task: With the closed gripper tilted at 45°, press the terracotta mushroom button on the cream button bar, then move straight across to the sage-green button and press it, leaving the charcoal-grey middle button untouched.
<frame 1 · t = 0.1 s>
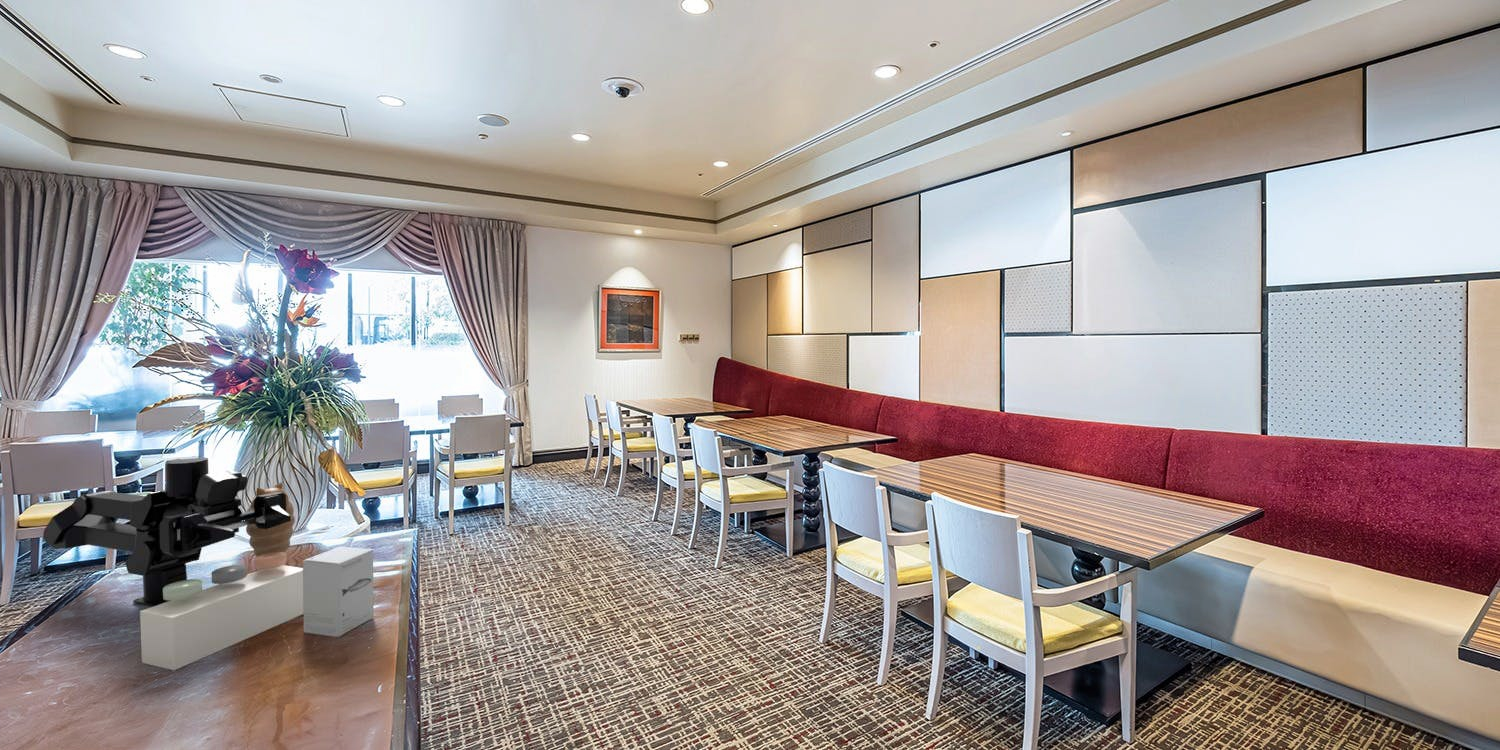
hand: (262, 525, 103), 17 cm above the table, tool horizontal, fingers open, 9 cm apart
grey button: (229, 574, 98), point 10 cm above the table, slide at 0.0 cm
terracotta button: (270, 560, 105), point 10 cm above the table, slide at 0.0 cm
cat ice cream: (272, 569, 127), on the table
supplement box: (340, 626, 102), on the table
sage button: (182, 589, 92), point 10 cm above the table, slide at 0.0 cm
button bar: (232, 635, 98), on the table
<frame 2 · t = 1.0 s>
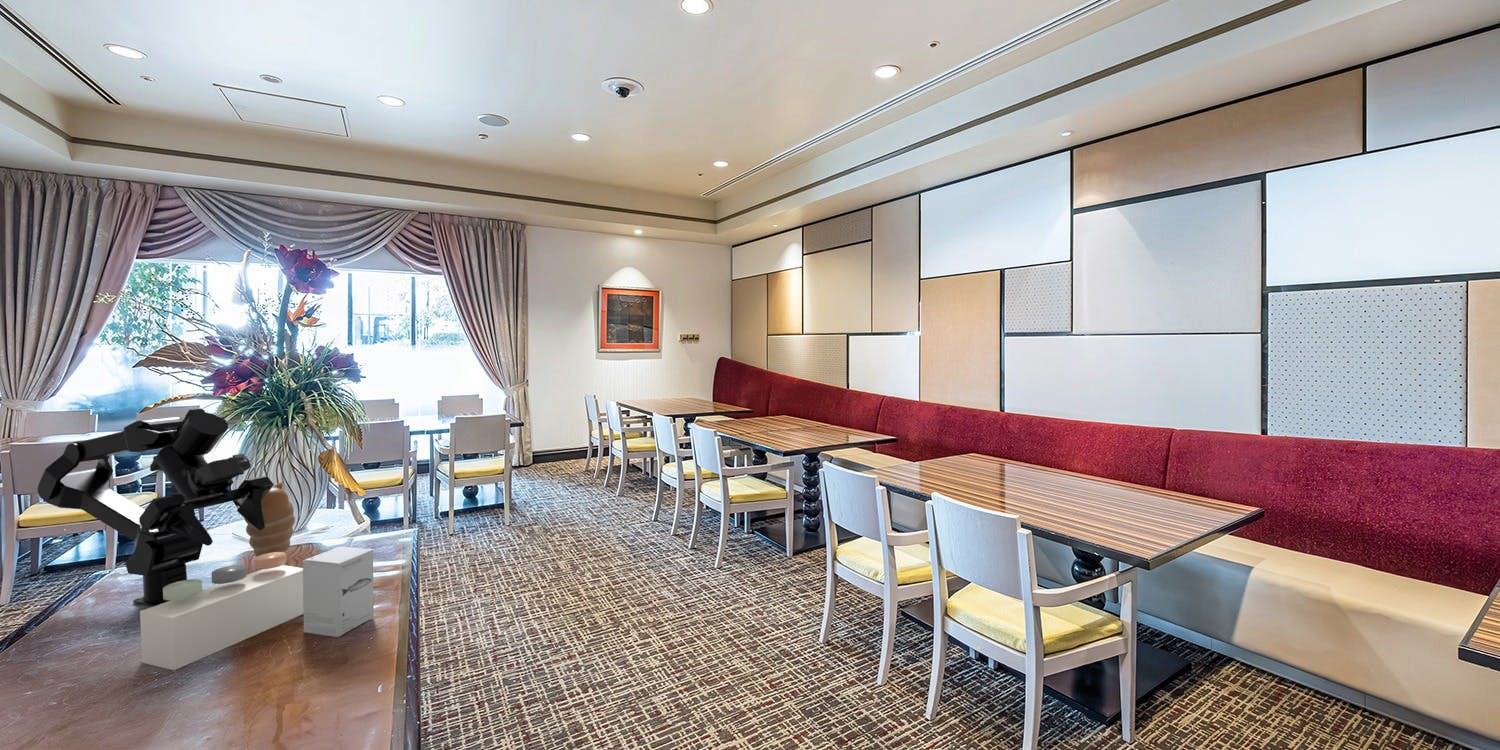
hand: (237, 535, 106), 14 cm above the table, tool tilted 45°, fingers open, 8 cm apart
nothing on the table moved.
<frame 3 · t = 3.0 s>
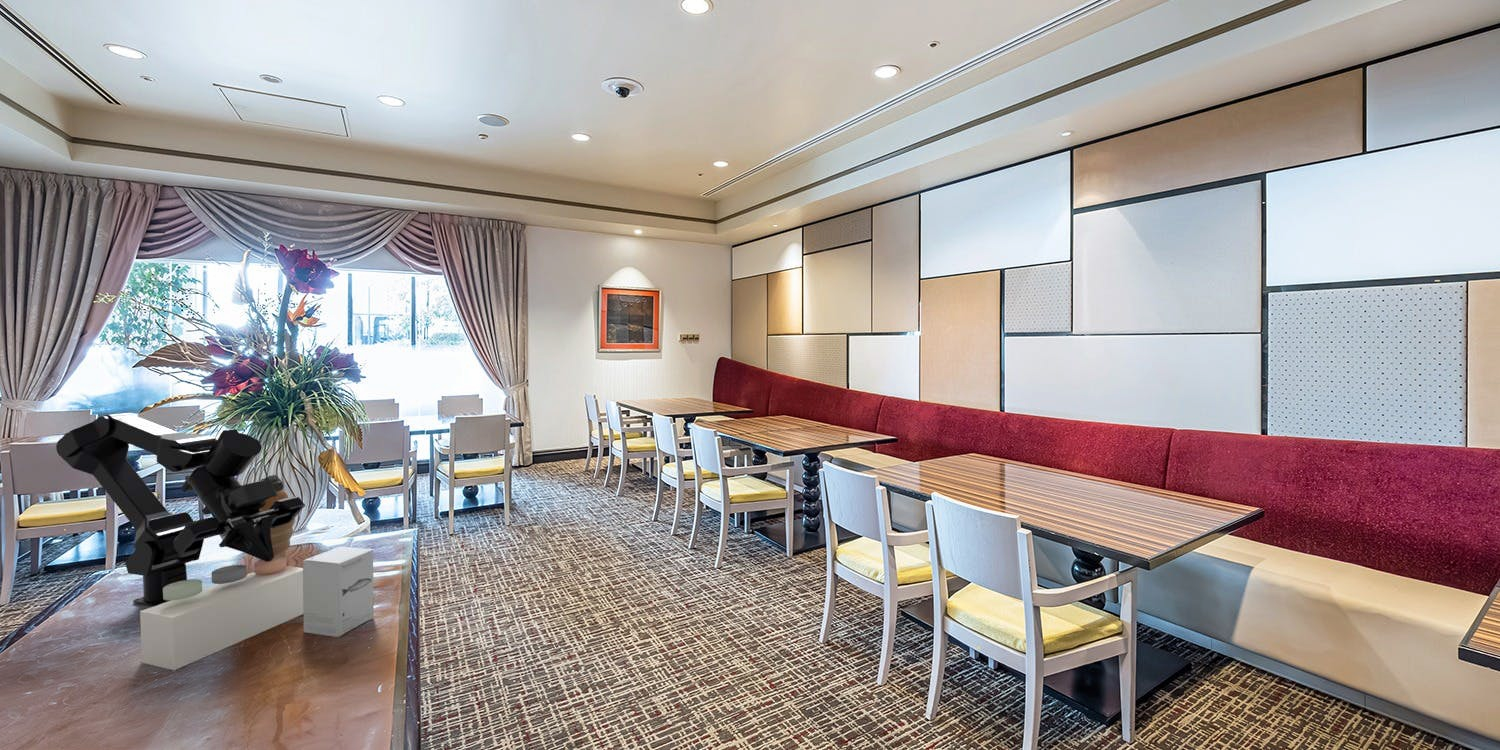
hand: (270, 559, 105), 10 cm above the table, tool tilted 45°, fingers closed, pressing on terracotta button
terracotta button: (270, 565, 105), point 9 cm above the table, slide at 0.9 cm, touching gripper
everything else where it was.
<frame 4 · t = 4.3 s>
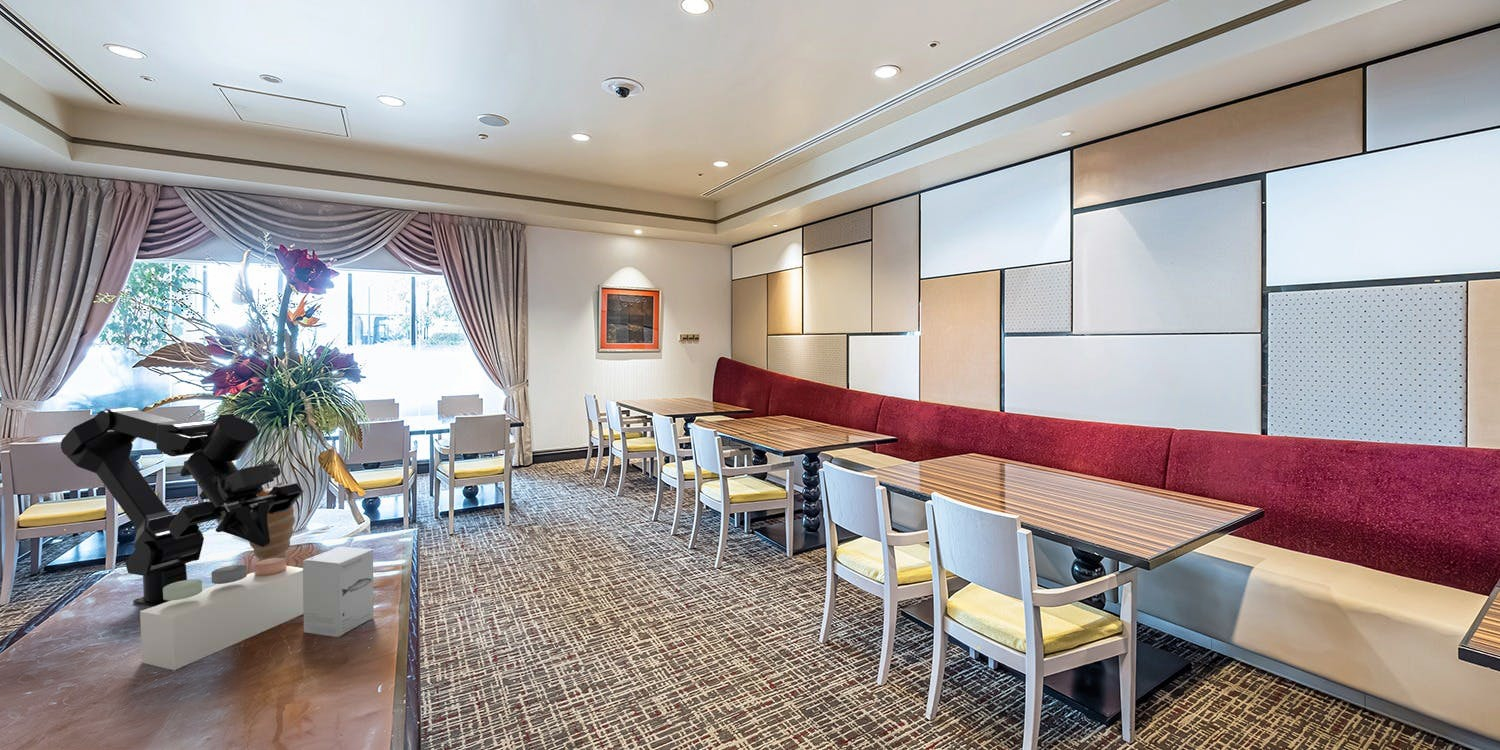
hand: (266, 544, 104), 13 cm above the table, tool tilted 45°, fingers closed
terracotta button: (270, 566, 105), point 9 cm above the table, slide at 1.1 cm
everything else where it was.
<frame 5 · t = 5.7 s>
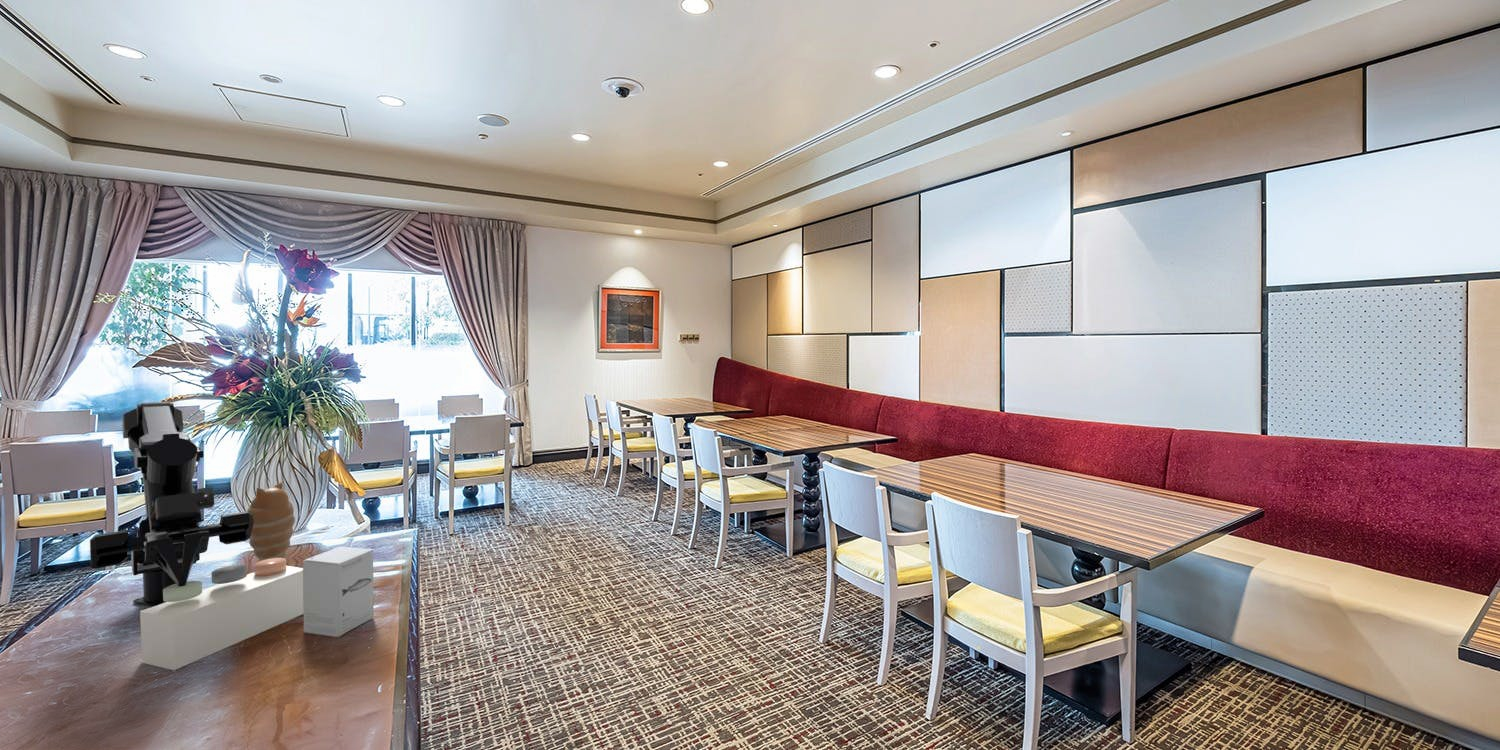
hand: (182, 584, 92), 11 cm above the table, tool tilted 45°, fingers closed, pressing on sage button
sage button: (182, 591, 92), point 10 cm above the table, slide at 0.3 cm, touching gripper
everything else where it was.
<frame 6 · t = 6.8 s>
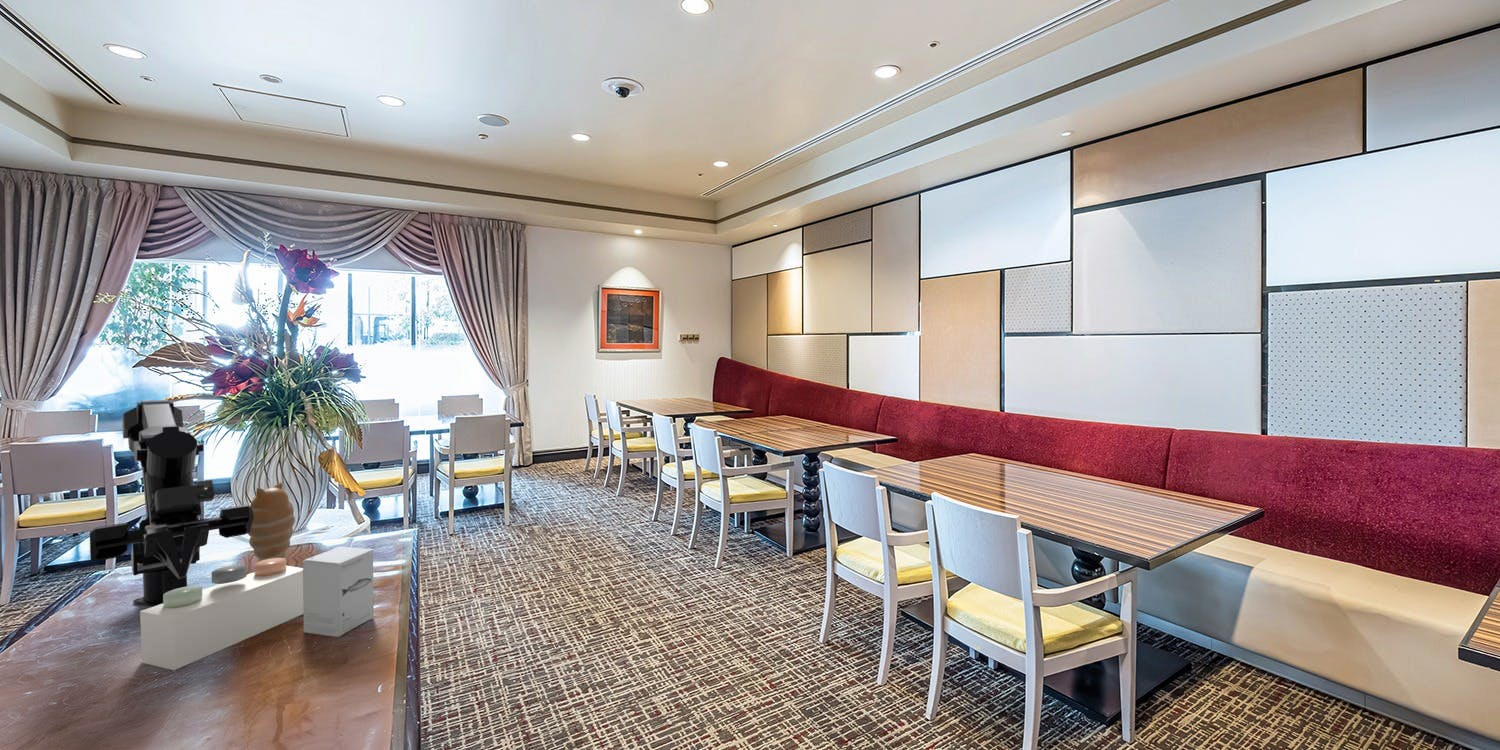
hand: (182, 577, 92), 12 cm above the table, tool tilted 45°, fingers closed
sage button: (183, 596, 92), point 9 cm above the table, slide at 1.1 cm
everything else where it was.
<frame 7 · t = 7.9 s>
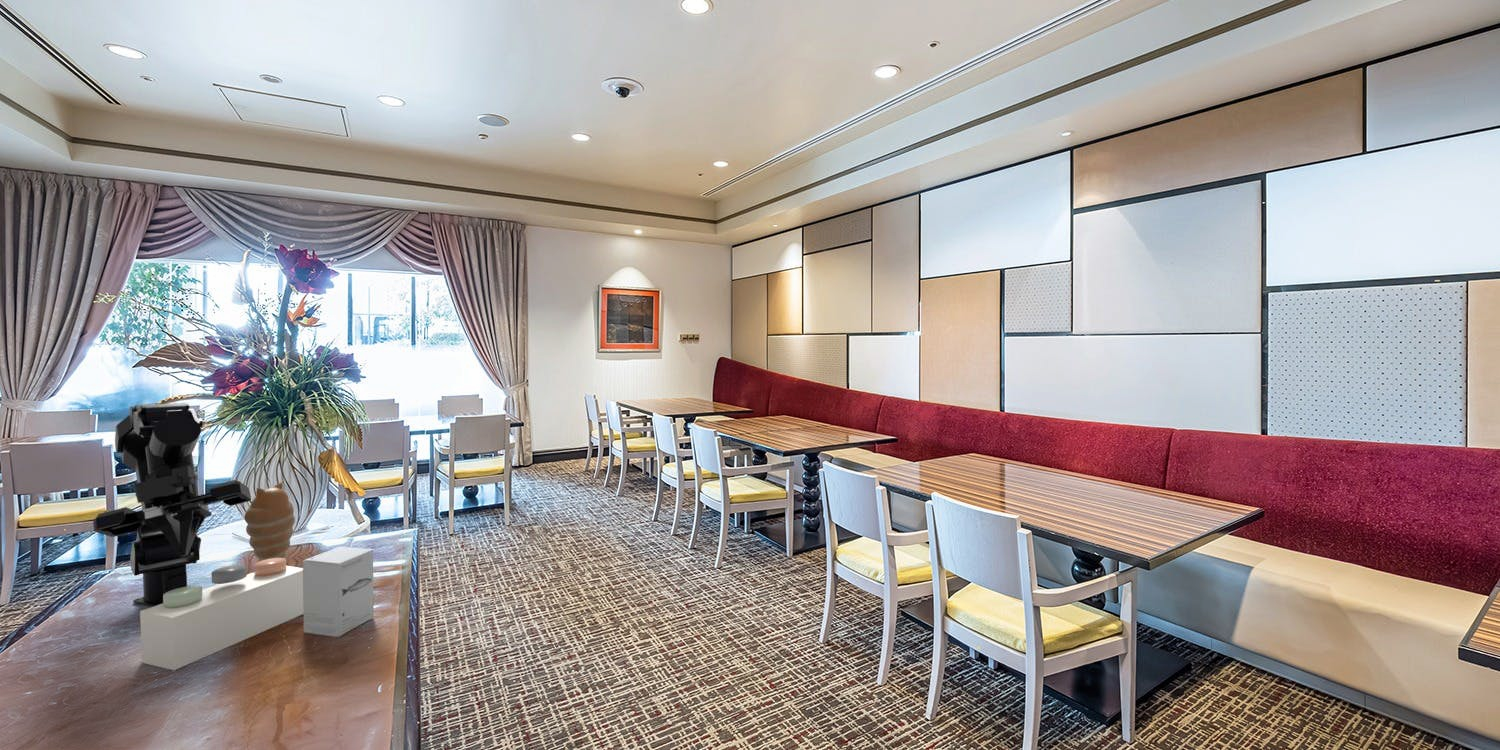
hand: (183, 555, 99), 13 cm above the table, tool tilted 30°, fingers closed
nothing on the table moved.
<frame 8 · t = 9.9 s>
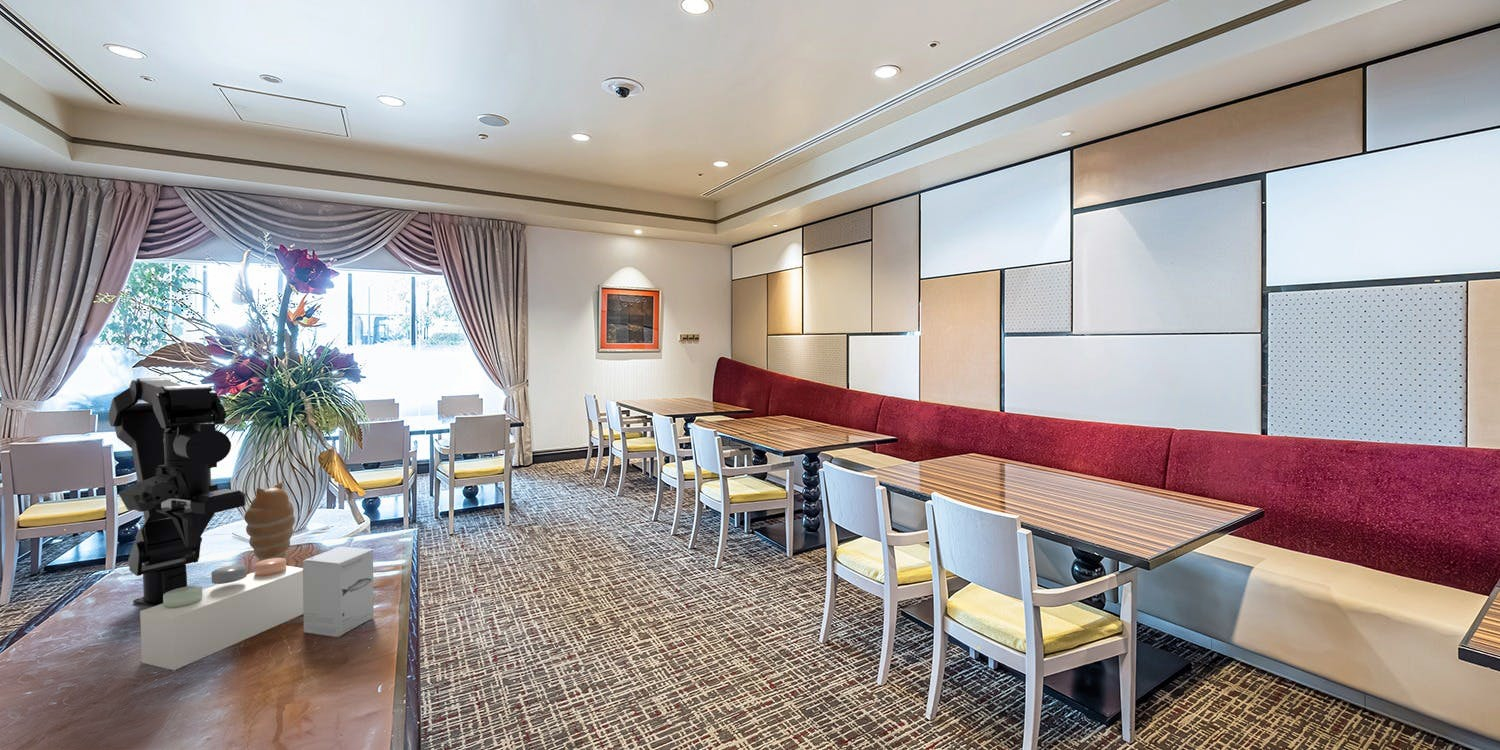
hand: (190, 546, 103), 13 cm above the table, tool pointing down, fingers closed
nothing on the table moved.
at the end: terracotta button slide at 1.1 cm; sage button slide at 1.1 cm; grey button slide at 0.0 cm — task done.
